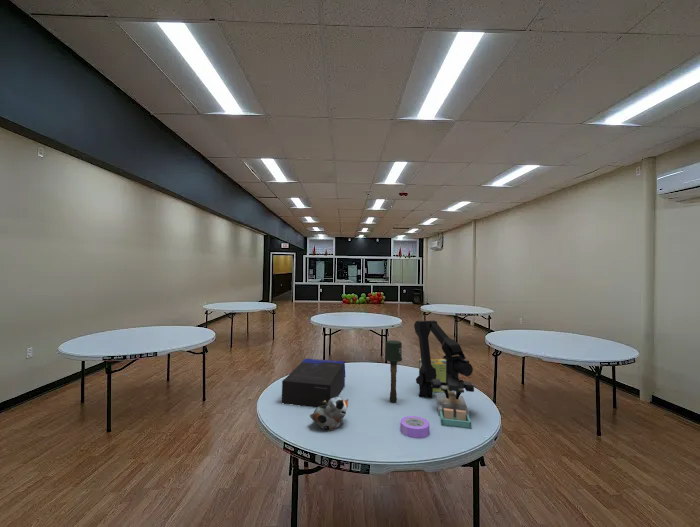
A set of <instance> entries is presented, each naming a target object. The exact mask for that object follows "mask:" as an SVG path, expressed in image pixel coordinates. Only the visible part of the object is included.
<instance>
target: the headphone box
mask: <svg viewBox="0 0 700 527" xmlns="http://www.w3.org/2000/svg"><path fill="white" fill-rule="evenodd" d="M345 386H346V361H343V360H330V359H319V358H318V359H316V358H304V359H303V360H302V361H301V362H300V363H299V364H298V365H297V366H296V367H295V368H294V369H293V370H292V371H291V372H290V373H289V374H288V375H287V376H286V377H285V378H283V379H282V380H281V404H282V403H284V404H283V405H289V404H293V405H292V406H298V405H300V407H308V408H317V407H319V406H321V405H323V401H324V400H325V401H326V402H327V403H328V401H329V400H330V399H331V398H334V397H340V395H341V392H342V391H343V390H344V388H346V387H345Z"/></svg>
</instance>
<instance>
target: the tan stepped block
mask: <svg viewBox="0 0 700 527" xmlns="http://www.w3.org/2000/svg"><path fill="white" fill-rule="evenodd" d="M448 397H449V399H448V398H445V403H443V402H442V410H444V408H447V409H453V411H455V412H456V410H465V411H466V406H467V404H466V405H463V404H461V400H458V399H456V391H448Z"/></svg>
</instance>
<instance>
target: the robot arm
mask: <svg viewBox="0 0 700 527" xmlns="http://www.w3.org/2000/svg"><path fill="white" fill-rule="evenodd" d="M413 327H414V331H415V334H416V335H417V337H418V340H419V341H418V342H419V353H420V359H421V362H422V365H421V368H420V370H419V369H418V376H417V377H416V378H415V381H416V382H415V384H417V385H418V386H419V389H418V391H419V392H418V397H420V398H429V399H430V398H431V399H433V395H434V392H433V388H437V389H439V388H440V387H441V390H442V391H444V392H443V394H445V395H446V398H448V399H449V397H448V390H449V391H451V392H455V395H456V399H458V398H459V396H461V394H463V393H465V391H466V392H471V393H473V392H475V386H474V384H473V383H472V382H471V381H464V379H459V374H460V375H463V376H465V377H470V376H471V375H472V374H473V372H474V368H473V365H472V364H471V363H470V360H467V359H466V356H465V354H464V351H463V350H462V347H461V345H460V344H459V343H458V342H457V341H456V340H455V339H452V338H450V337H449V336H448V335H447V334H446V332H445V331H444V330H443V329H442V327H441V326H440V325H439V324H438V321H436V320H433V319H432V320H427V319H426V320H416V321H415V323H414V326H413ZM430 333H432V334H433V335H434V337H435V338H436V339H437V341H438V342H439V343H440V344H441V350H442V351H443V353H444V355H443V357H442V359H445V360H446V382H440V379H436V376H437V375H436V369H435V368H433V366H432V365H431V359H432V358H431V350H430V341H429V336H430ZM431 384H432V385H431ZM447 387H448V389H447Z"/></svg>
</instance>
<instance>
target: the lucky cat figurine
mask: <svg viewBox="0 0 700 527" xmlns="http://www.w3.org/2000/svg"><path fill="white" fill-rule="evenodd" d="M348 407H349V399H348V398H347V399H346V400H345V399H344V398H342V397H340V396H338V397H334V398H331V399H330V400H329V401H328V403H327V402H326V401H325V400H324V401H323V405H321V406H319V407H315V409H314V411H313V413H311V414H309V417H310V419H311V420H312V421H313V422H314V423H315V424H317V425H318V426H319V427H320V428H322V429H323V430H325V429H327V431H332V430H335V429H337V428H340V425H341V421H342V419H344V417H345V416H346V415H347V411H348Z"/></svg>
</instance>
